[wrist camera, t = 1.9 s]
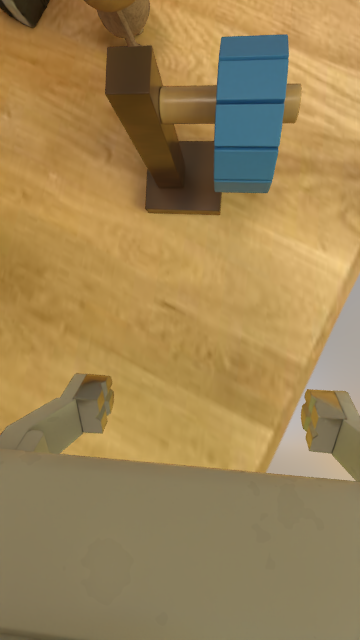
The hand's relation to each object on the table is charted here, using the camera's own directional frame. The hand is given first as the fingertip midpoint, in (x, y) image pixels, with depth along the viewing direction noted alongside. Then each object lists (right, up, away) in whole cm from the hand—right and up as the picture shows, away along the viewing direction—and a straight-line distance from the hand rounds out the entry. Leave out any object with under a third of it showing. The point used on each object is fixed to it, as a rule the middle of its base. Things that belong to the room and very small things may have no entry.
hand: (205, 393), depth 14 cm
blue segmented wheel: (+4, +19, +13) cm, 23 cm away
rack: (+2, +20, +27) cm, 34 cm away
